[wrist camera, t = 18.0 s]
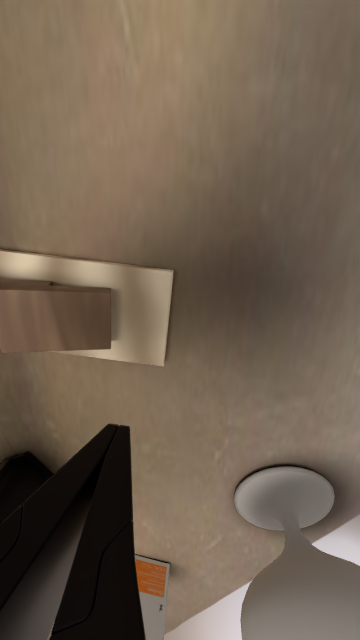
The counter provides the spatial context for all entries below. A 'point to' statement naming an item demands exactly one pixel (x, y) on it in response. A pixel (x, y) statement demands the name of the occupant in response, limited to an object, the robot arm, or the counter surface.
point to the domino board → (126, 299)
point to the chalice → (296, 563)
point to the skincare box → (153, 595)
